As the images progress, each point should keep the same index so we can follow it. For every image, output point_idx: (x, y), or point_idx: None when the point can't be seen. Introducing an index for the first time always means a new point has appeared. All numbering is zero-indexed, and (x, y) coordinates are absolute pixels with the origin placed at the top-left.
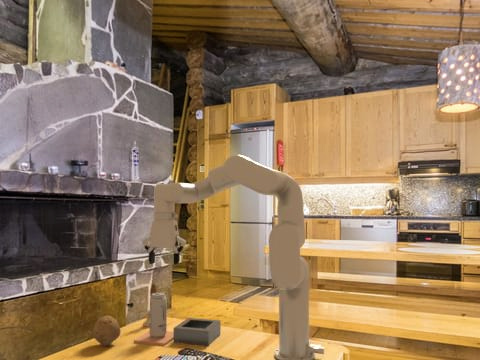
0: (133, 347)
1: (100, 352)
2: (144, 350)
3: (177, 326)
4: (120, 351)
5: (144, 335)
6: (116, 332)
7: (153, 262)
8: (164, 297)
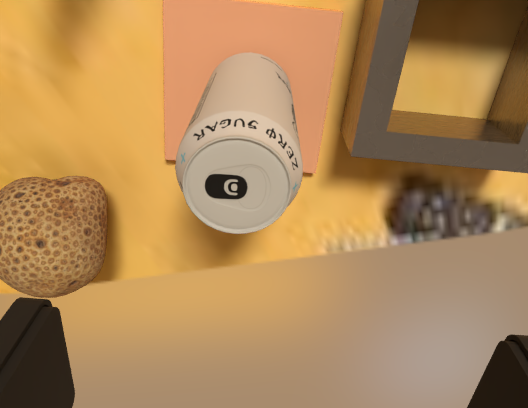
0: None
1: (107, 259)
2: None
3: (365, 130)
4: (170, 242)
5: (179, 92)
6: (106, 233)
7: (60, 351)
8: (293, 189)
